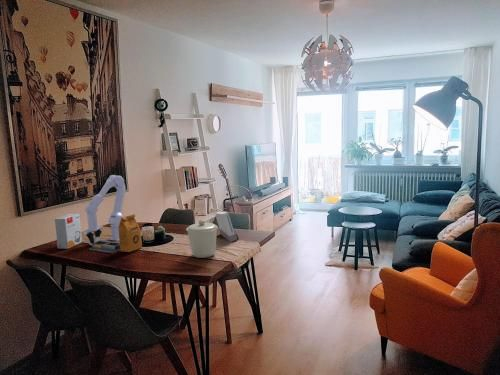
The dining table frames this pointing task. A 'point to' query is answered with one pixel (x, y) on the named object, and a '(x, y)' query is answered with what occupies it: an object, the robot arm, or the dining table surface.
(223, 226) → the gaming console
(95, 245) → the frame
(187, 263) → the dining table surface
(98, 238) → the white rectangular block
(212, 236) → the canister
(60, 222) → the hard drive box
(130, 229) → the coffee package
